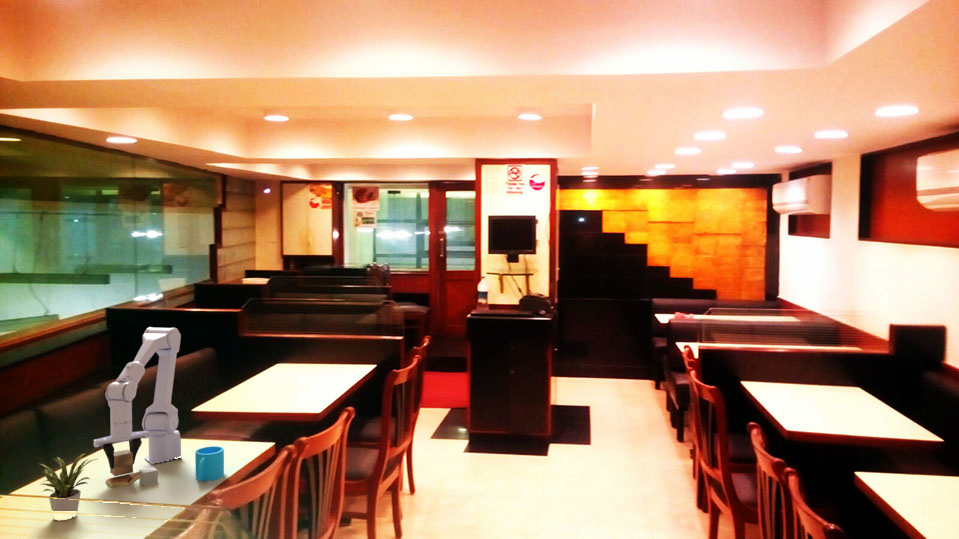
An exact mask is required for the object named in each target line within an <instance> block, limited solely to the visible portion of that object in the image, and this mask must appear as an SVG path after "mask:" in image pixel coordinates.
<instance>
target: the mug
mask: <svg viewBox="0 0 959 539" xmlns="http://www.w3.org/2000/svg"><path fill="white" fill-rule="evenodd" d="M224 476H225V449H224V447H222V446H217V445H216V446H215V445H214V446H213V445H212V446H205V447H201V448H198V449H196V450H195V480H197V481H200V482H209V481H215V480H218V479H221V478H223V477H224Z"/></svg>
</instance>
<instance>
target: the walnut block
mask: <svg viewBox="0 0 959 539" xmlns="http://www.w3.org/2000/svg"><path fill="white" fill-rule="evenodd" d="M109 468H110V467H109ZM109 473H110V474H111V475H113V476H114V477H117V476H121V475H126V474H131V473H134V464H133V453H132V452H131V451H130V449H123V450H118V451H114V468H113V469H111V468H110V469H109Z"/></svg>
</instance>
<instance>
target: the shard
mask: <svg viewBox="0 0 959 539" xmlns="http://www.w3.org/2000/svg"><path fill="white" fill-rule="evenodd" d="M137 479H139V471H136V472H133V473H128V474H124V475H119V476H114V477H109V478H107V479H106V480H105V484H107V485H109V487H110V488H115V487H116V488H117V487H128V486H130V485H131V483H133V482H134V481H136V480H137Z"/></svg>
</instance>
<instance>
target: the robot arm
mask: <svg viewBox="0 0 959 539" xmlns="http://www.w3.org/2000/svg"><path fill="white" fill-rule="evenodd" d="M181 338H182V335H181V333H180V331H179V329H178V328H176V327H153V326H149V327H147V328H146V330H144V333H143V334H142V345H141V346H140V348H139V350H138V351H137V354H136V356H135V358H134V360H133V361H130V362H128V363H126V365H125V367H124V368H123V369H122V371H121V373H120V374H119V375H118V377H117V379H116V380H115V381H113V382H111V383H109V384H108V385H107V387H106V391H105V393H104V394H105V395H104V396H105V399H106V400H107V403H108V404H107V405H108V407H109V409H110V410H109V412H110V414H109V416H110V435H109V436H108V435H107V436H104V437H100V438H96V439H93V446H94V448H100V447H101V448H102V450H103V452H104V453H105V456H106V458H107V461H108V465H109V468H111V469H113V468H114V452H115V447H114V445H113V444H119V443H125V442H128V446H129V451H131V452H132V453H133V465H135V461H136V457H137V454H138V451H139V449H140V447H141V445H142V443H143V441H142V439H148V456H145V457H144V460H146V461H147V462H148V461H149V462H150V463H149V462H148V463H149V464H151V465H155V463H157V464H161V463H164V462H163V461H166V462H168V461H167V460H171V461H173V460H172V459H175V457H176V458H177V457H179V456H181V457H182V438H181V437H182V436H181V434H180V433H181V432H180V431H179V430H177V428H178V426H179V416H178V414H179V413H178V412H179V410H178V408H177V407H175V405H173V404H172V395H173V386H174V379H175V369H176V363H177V362H176V361H177V355H178V354H177V353H179V352H180V347H181V346H180V345H181ZM155 353H156V354H157V356H159V357H158V364H157V372H156V373H157V374H156V381H155V388H154V396H153V403H152V404H150V406H148V407H147V408H146V409H145V413H144V416H143V418H142V422H141V427H142V429H143V430H140V431H133V411H132V410H133V399H135V397H136V395H137V389H138V387H139V385H138V384H139V383H140V381H141V379H142V378H143V376H144V374H145V372H146V369H145V366H146V364H147V363H148V362H149V361H150V359H151V358H152V357H153V356H154V354H155ZM160 462H161V463H160Z"/></svg>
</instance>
